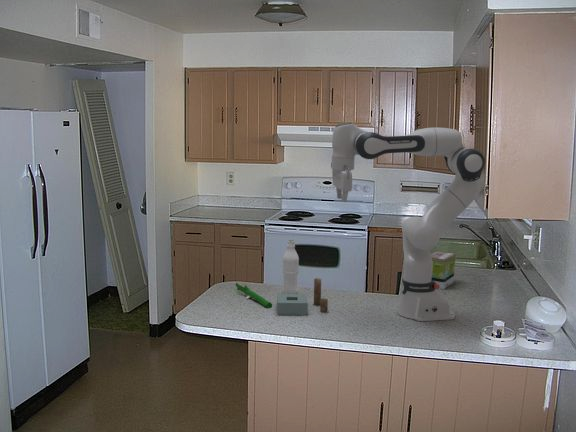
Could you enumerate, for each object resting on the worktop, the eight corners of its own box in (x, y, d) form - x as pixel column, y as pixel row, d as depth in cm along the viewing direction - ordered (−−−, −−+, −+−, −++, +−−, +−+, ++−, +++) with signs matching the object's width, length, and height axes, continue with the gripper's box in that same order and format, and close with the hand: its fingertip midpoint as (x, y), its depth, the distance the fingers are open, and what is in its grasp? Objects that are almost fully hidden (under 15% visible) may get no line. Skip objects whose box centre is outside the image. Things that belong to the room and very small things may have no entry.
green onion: (273, 309, 252) (240, 287, 277) (273, 301, 251) (240, 280, 276) (262, 311, 249) (230, 289, 274) (263, 303, 249) (230, 282, 274)
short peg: (327, 310, 249) (327, 298, 248) (327, 312, 246) (328, 300, 245) (319, 310, 248) (320, 298, 248) (320, 312, 245) (320, 300, 245)
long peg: (320, 303, 257) (321, 278, 256) (321, 305, 254) (321, 280, 253) (313, 303, 257) (313, 278, 255) (313, 305, 254) (314, 280, 252)
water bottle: (279, 297, 265) (280, 241, 261) (284, 293, 272) (285, 238, 268) (295, 299, 263) (296, 242, 259) (300, 294, 270) (301, 239, 266)
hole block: (305, 305, 254) (305, 294, 253) (307, 315, 242) (307, 303, 241) (277, 305, 253) (277, 294, 252) (277, 315, 241) (277, 303, 241)
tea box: (444, 290, 281) (446, 259, 278) (423, 286, 286) (425, 256, 283) (454, 282, 293) (455, 253, 291) (433, 279, 298) (435, 250, 296)
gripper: (356, 167, 226) (355, 204, 228) (345, 163, 246) (344, 196, 248) (340, 167, 225) (339, 203, 227) (330, 162, 245) (329, 196, 247)
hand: (341, 200), depth 238 cm, fingers open, 8 cm apart
